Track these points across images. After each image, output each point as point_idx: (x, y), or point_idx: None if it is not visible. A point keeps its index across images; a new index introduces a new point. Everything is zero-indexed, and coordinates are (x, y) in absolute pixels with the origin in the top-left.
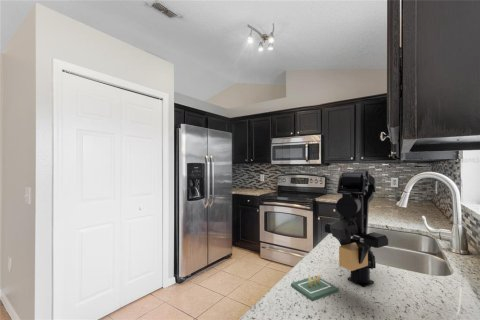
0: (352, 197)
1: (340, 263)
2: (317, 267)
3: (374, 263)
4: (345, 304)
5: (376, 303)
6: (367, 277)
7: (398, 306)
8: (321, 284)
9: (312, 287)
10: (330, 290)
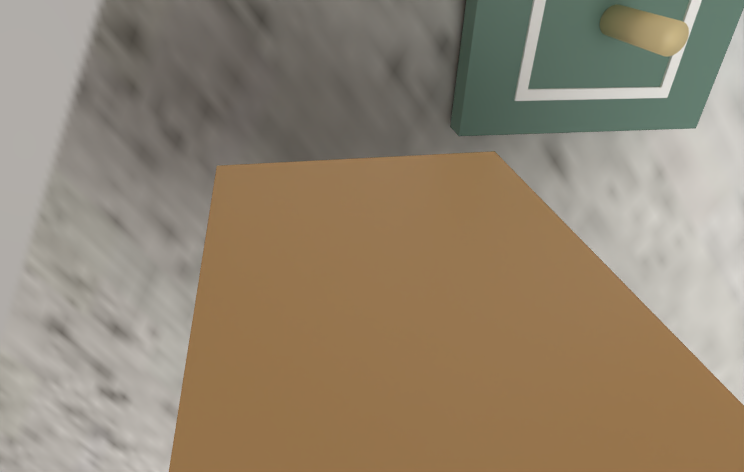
0: None
1: (483, 173)
2: (733, 260)
3: None
4: (294, 9)
5: (200, 247)
6: None
7: (118, 338)
8: (592, 46)
9: None
10: (481, 33)
